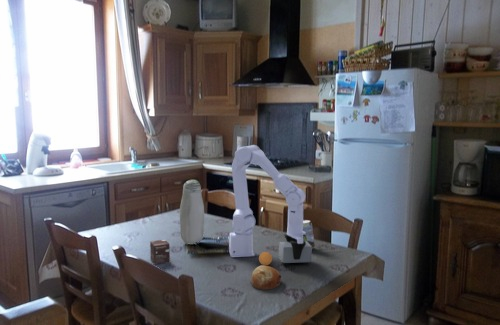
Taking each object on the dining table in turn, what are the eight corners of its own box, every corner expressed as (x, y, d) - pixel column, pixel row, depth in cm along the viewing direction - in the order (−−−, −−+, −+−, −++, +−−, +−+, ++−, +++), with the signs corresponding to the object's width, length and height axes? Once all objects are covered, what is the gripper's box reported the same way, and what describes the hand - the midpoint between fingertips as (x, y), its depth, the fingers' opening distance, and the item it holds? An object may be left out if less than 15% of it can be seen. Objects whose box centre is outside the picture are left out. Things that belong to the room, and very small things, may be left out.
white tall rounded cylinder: (202, 247, 171) (202, 182, 168) (178, 247, 171) (177, 182, 168) (205, 240, 181) (205, 178, 177) (182, 239, 181) (181, 178, 177)
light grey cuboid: (282, 262, 151) (283, 247, 151) (278, 256, 157) (279, 241, 157) (311, 261, 153) (311, 246, 153) (305, 256, 159) (306, 241, 159)
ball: (271, 252, 151) (275, 264, 152) (268, 247, 155) (272, 259, 156) (258, 257, 150) (262, 269, 151) (255, 252, 155) (260, 264, 156)
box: (154, 264, 152) (153, 246, 151) (150, 259, 158) (149, 241, 157) (170, 262, 155) (169, 243, 154) (165, 257, 160) (165, 239, 159)
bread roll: (254, 287, 143) (244, 268, 141) (280, 275, 143) (271, 255, 141) (257, 300, 133) (247, 279, 131) (285, 287, 133) (275, 266, 132)
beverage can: (314, 251, 168) (315, 223, 166) (296, 250, 170) (297, 222, 168) (314, 246, 174) (315, 219, 173) (297, 245, 176) (298, 218, 174)
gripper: (311, 226, 147) (310, 262, 149) (299, 215, 161) (298, 248, 163) (292, 227, 146) (291, 263, 148) (282, 216, 160) (281, 249, 162)
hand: (294, 255), depth 155 cm, fingers closed on light grey cuboid, 6 cm apart
